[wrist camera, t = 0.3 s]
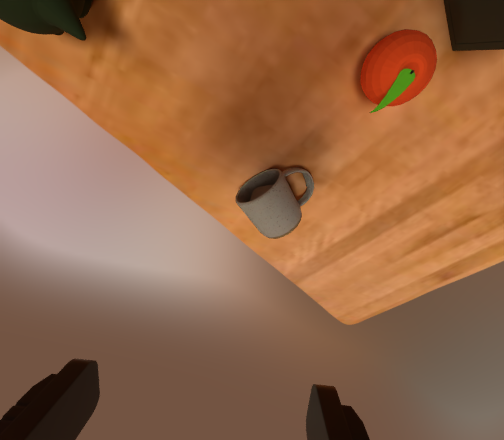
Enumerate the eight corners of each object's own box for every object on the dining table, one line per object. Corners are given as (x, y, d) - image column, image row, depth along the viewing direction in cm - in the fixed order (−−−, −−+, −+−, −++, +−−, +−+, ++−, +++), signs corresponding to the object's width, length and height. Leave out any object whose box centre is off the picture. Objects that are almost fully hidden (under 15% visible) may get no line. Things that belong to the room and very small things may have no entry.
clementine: (379, 119, 32) (404, 133, 26) (335, 93, 30) (350, 102, 25) (430, 52, 28) (472, 51, 22) (381, 18, 26) (412, 7, 20)
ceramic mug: (264, 221, 42) (263, 251, 36) (237, 185, 39) (231, 210, 32) (321, 193, 38) (331, 220, 32) (297, 150, 35) (304, 170, 28)
